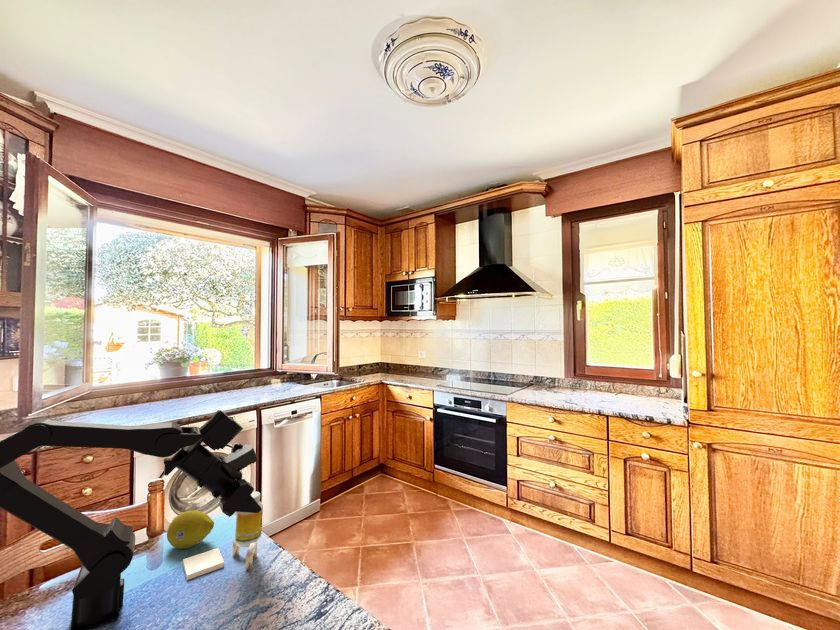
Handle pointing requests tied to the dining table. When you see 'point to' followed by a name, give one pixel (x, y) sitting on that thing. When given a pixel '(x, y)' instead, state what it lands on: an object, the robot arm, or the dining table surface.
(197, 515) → the lemon
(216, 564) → the cream coaster
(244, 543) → the supplement bottle
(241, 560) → the dining table surface
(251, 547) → the bent steel bracket
